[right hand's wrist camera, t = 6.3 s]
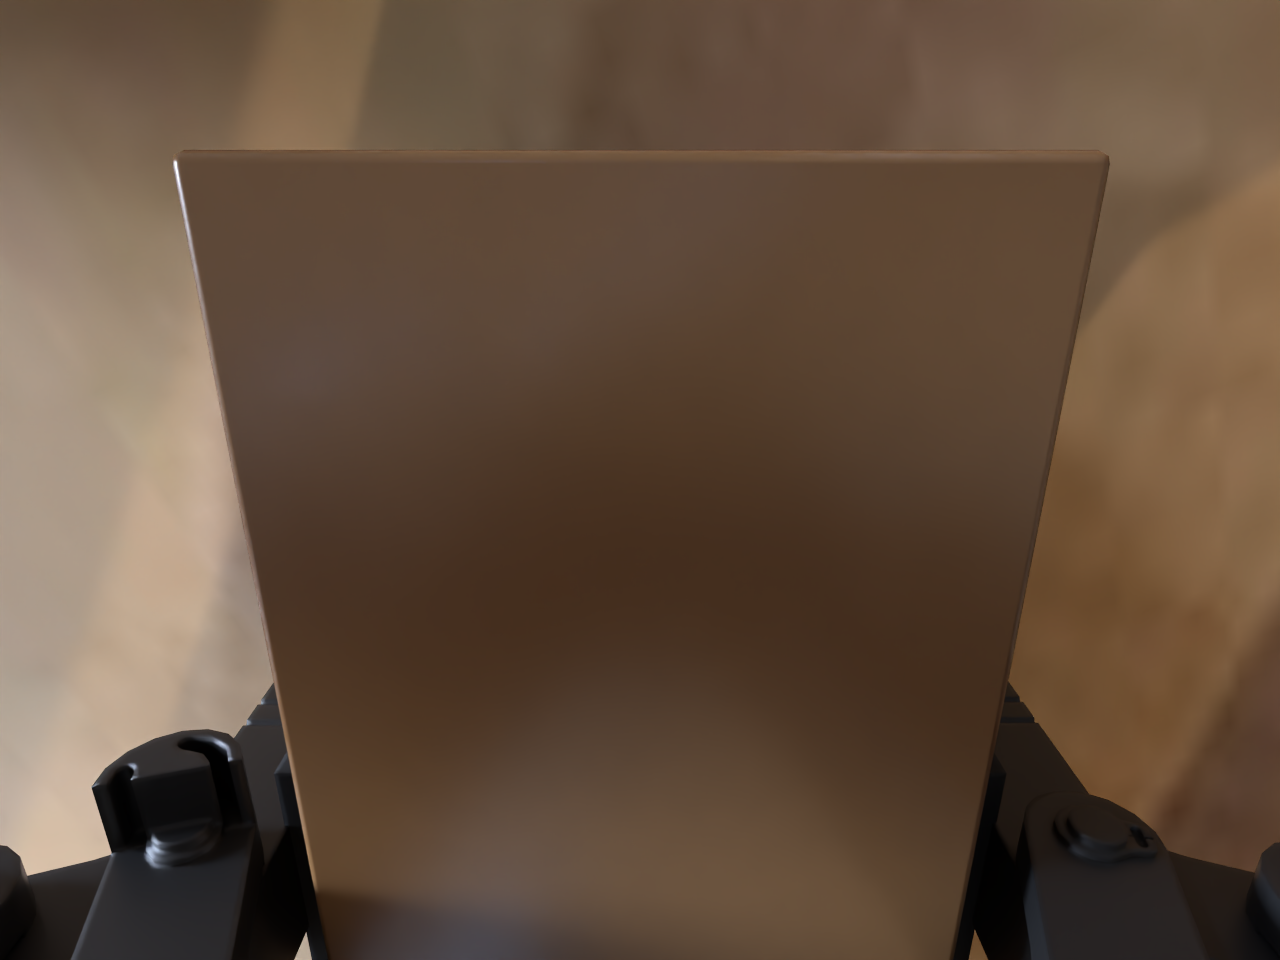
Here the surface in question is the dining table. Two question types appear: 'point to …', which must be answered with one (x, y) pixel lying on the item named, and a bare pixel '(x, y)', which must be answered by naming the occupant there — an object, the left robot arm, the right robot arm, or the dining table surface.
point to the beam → (640, 527)
